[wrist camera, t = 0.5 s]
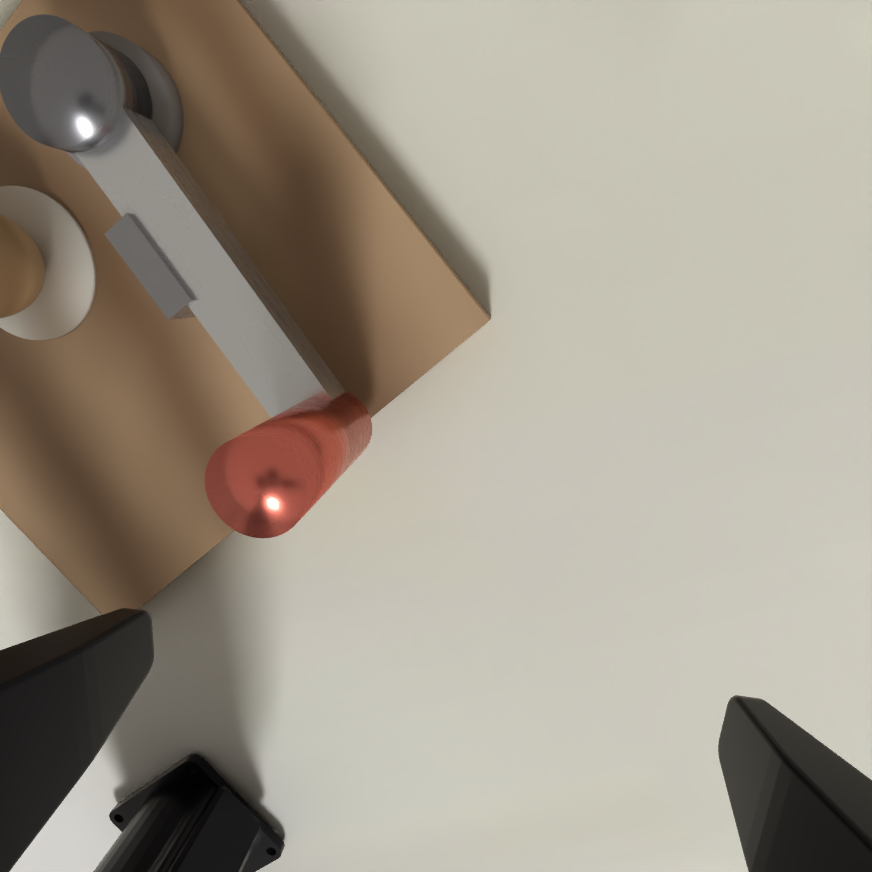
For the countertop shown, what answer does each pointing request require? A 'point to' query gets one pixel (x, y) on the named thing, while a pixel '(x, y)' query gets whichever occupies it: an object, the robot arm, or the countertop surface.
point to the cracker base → (187, 338)
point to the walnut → (18, 268)
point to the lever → (190, 272)
